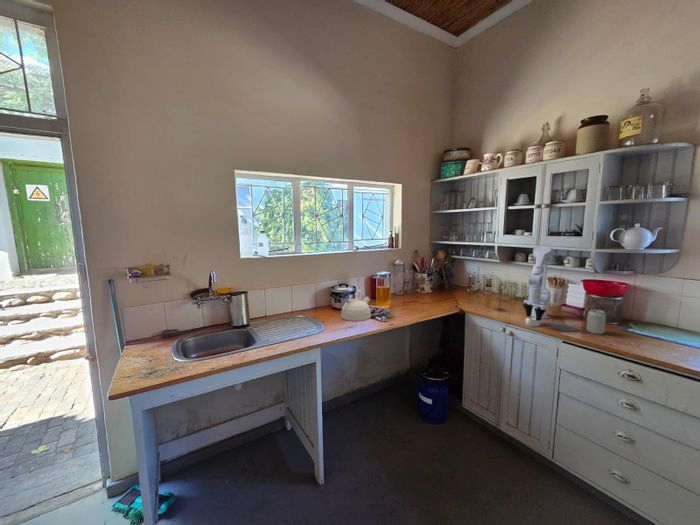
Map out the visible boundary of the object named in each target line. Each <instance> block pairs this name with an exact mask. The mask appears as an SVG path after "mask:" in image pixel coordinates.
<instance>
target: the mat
mask: <svg viewBox="0 0 700 525" xmlns="http://www.w3.org/2000/svg"><path fill="white" fill-rule="evenodd" d="M542 324H544V325H546V326H548V327H551V328H554V329H555V330H558V331H561V332H563V333H568V332H580V331H581V329H578V328H576V327H573V326H570V325H568V324H565V323H563V322H560V321H549V322H546V321H545V322H543V323H542Z"/></svg>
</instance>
